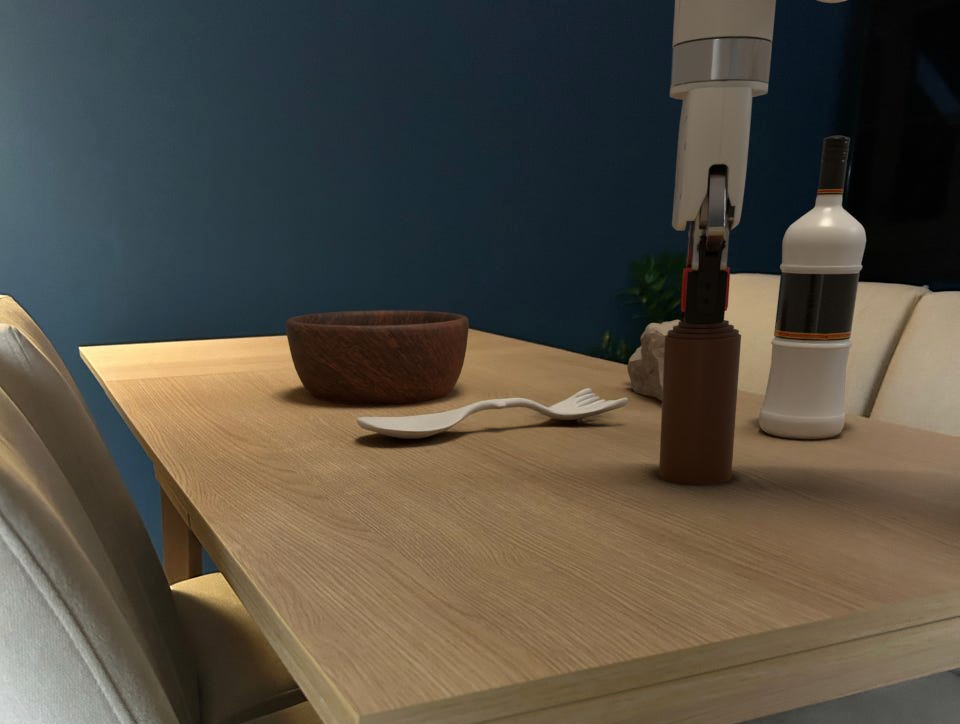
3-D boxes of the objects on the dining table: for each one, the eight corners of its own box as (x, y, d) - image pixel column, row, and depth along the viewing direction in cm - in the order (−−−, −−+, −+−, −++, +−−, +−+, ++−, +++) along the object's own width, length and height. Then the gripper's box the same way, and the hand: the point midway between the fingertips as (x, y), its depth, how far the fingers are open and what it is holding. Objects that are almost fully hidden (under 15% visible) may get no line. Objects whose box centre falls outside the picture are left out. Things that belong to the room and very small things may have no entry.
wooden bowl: (322, 379, 150) (317, 309, 146) (482, 382, 146) (481, 310, 142) (264, 407, 127) (257, 325, 123) (451, 411, 123) (450, 327, 119)
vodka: (760, 439, 107) (793, 133, 95) (755, 423, 115) (786, 140, 103) (848, 442, 105) (893, 131, 93) (837, 426, 113) (877, 138, 102)
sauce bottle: (727, 476, 91) (741, 271, 84) (733, 493, 85) (749, 274, 78) (658, 475, 92) (666, 273, 85) (659, 492, 86) (668, 277, 79)
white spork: (629, 424, 115) (630, 395, 113) (374, 450, 102) (373, 417, 101) (588, 412, 122) (589, 384, 121) (347, 435, 109) (345, 404, 108)
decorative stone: (727, 410, 124) (735, 328, 120) (672, 412, 122) (678, 329, 118) (666, 386, 142) (671, 314, 138) (617, 388, 140) (621, 315, 136)
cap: (679, 309, 84) (681, 267, 83) (725, 308, 84) (727, 266, 83) (682, 313, 81) (684, 269, 79) (730, 311, 80) (733, 268, 79)
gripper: (665, 89, 84) (653, 313, 91) (677, 58, 68) (661, 330, 76) (754, 86, 83) (735, 312, 90) (787, 55, 67) (760, 330, 75)
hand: (701, 318), depth 83 cm, fingers closed on cap, 3 cm apart
